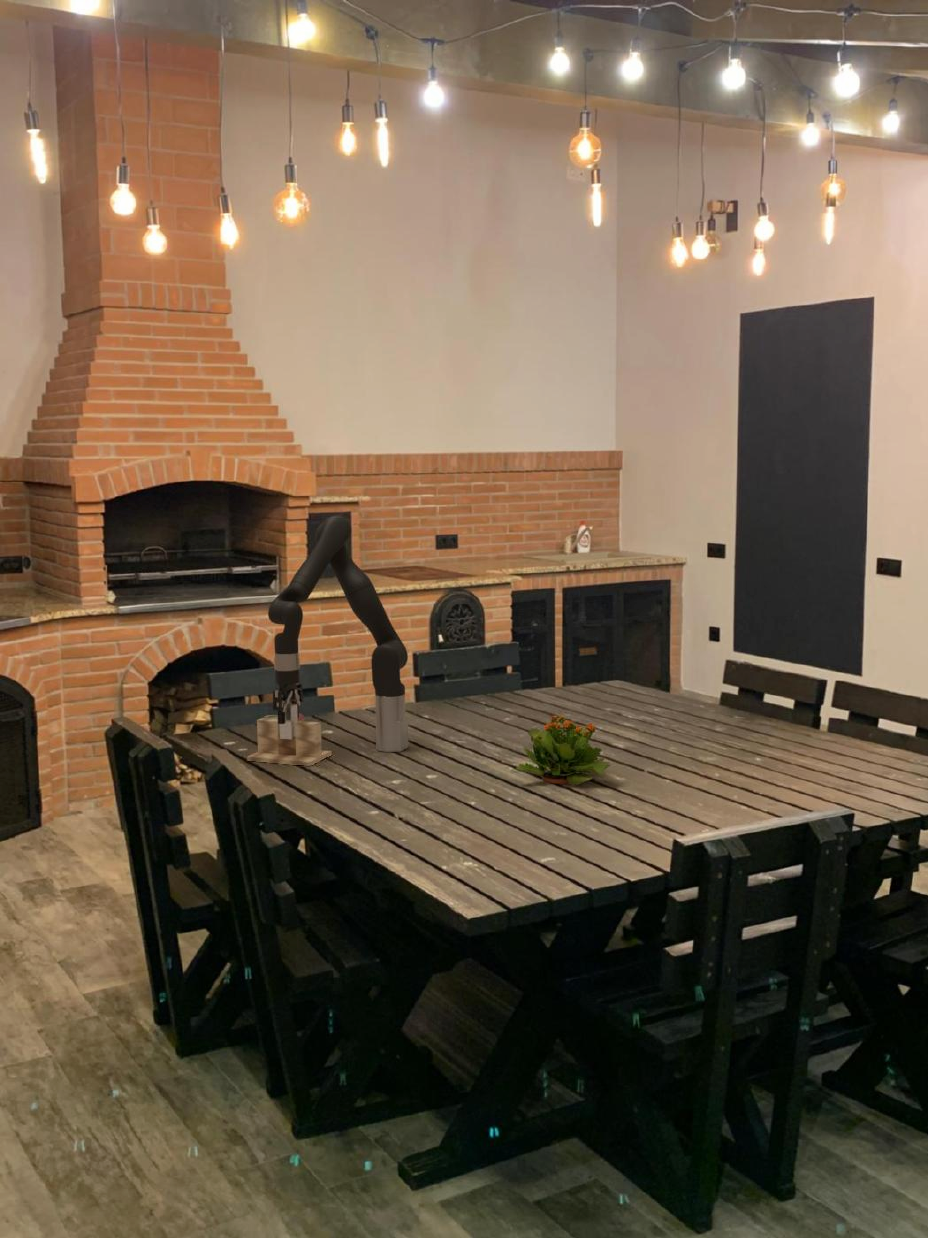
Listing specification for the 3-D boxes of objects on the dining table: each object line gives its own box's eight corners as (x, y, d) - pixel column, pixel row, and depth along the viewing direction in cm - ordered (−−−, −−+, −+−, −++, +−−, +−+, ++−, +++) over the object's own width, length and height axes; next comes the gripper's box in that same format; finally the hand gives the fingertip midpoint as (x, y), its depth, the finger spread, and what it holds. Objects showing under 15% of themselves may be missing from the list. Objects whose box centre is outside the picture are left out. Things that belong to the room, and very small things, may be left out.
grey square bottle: (298, 736, 372) (296, 694, 371) (291, 739, 369) (290, 696, 367) (286, 735, 374) (285, 693, 372) (279, 738, 370) (278, 695, 368)
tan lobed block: (331, 756, 375) (330, 718, 373) (310, 767, 362) (308, 728, 360) (270, 750, 382) (269, 714, 381) (247, 761, 369) (246, 723, 368)
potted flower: (527, 794, 330) (527, 730, 328) (501, 772, 353) (500, 712, 350) (614, 786, 337) (615, 723, 334) (583, 766, 359) (583, 707, 357)
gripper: (286, 672, 360) (288, 726, 363) (309, 664, 374) (310, 717, 376) (264, 671, 363) (265, 725, 365) (287, 663, 376) (289, 715, 378)
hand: (288, 721), depth 370 cm, fingers open, 8 cm apart
